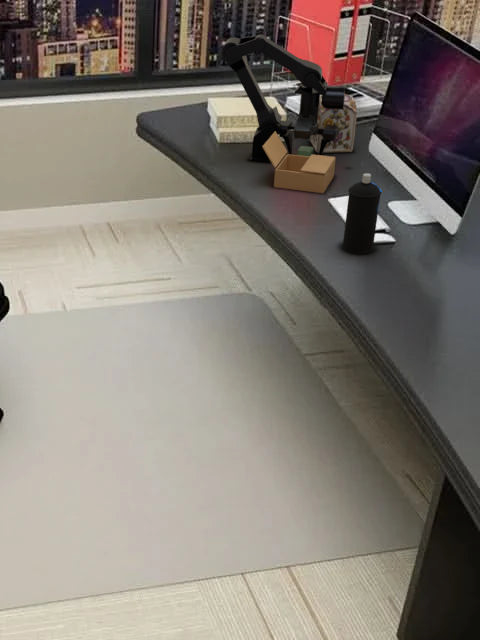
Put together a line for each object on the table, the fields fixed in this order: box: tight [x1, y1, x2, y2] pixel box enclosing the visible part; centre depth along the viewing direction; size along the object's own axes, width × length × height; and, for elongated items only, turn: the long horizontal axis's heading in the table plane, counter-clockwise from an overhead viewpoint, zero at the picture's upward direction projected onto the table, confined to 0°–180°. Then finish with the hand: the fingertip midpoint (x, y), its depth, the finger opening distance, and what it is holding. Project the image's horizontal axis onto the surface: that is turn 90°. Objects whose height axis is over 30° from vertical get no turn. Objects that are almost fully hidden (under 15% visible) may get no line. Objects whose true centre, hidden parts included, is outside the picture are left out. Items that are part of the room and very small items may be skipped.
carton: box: [273, 153, 336, 194], centre depth 298 cm, size 15×14×6 cm
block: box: [296, 145, 314, 157], centre depth 313 cm, size 4×4×4 cm
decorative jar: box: [309, 93, 358, 154], centre depth 318 cm, size 12×12×18 cm
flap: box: [262, 131, 288, 169], centre depth 298 cm, size 7×14×1 cm
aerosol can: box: [341, 173, 383, 255], centre depth 255 cm, size 8×8×20 cm
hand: (304, 157), depth 313 cm, fingers open, 9 cm apart
